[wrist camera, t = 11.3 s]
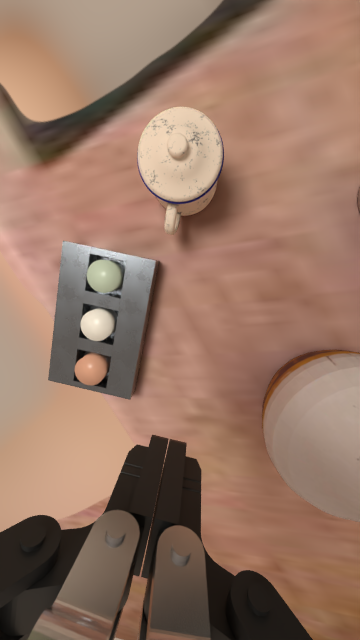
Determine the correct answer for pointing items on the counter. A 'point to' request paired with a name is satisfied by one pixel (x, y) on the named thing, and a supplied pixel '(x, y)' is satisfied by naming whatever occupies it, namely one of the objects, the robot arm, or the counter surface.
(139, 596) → the counter surface
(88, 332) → the ivory button
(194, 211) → the teacup with lid
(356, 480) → the jug
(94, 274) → the sage button
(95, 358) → the orange rounded piece
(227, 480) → the counter surface
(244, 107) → the counter surface
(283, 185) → the counter surface
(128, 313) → the panel
